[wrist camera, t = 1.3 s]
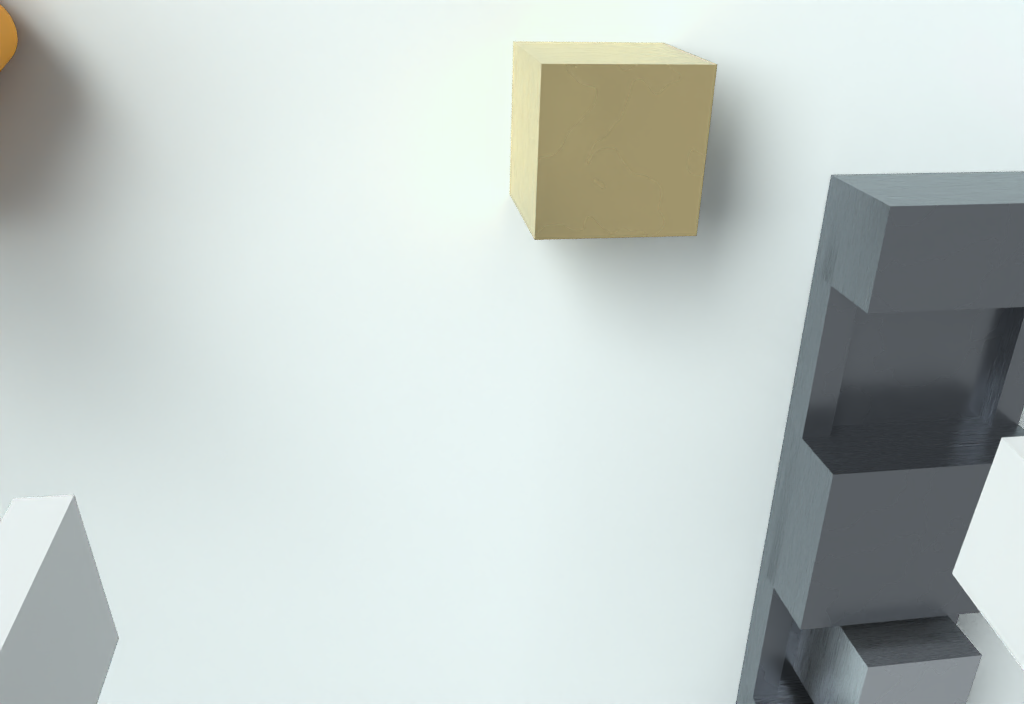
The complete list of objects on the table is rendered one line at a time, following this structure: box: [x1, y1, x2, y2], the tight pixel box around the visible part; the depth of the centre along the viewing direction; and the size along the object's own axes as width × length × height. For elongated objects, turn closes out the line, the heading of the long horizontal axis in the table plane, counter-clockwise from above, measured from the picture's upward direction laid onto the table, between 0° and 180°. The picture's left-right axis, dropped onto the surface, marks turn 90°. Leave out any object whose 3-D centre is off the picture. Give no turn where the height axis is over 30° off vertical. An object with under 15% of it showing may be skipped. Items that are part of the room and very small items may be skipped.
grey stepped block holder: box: [736, 172, 1024, 704], centre depth 37 cm, size 28×10×4 cm, turn 179°
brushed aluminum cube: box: [793, 615, 982, 704], centre depth 39 cm, size 5×5×5 cm
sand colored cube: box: [510, 42, 717, 240], centre depth 28 cm, size 5×5×5 cm
